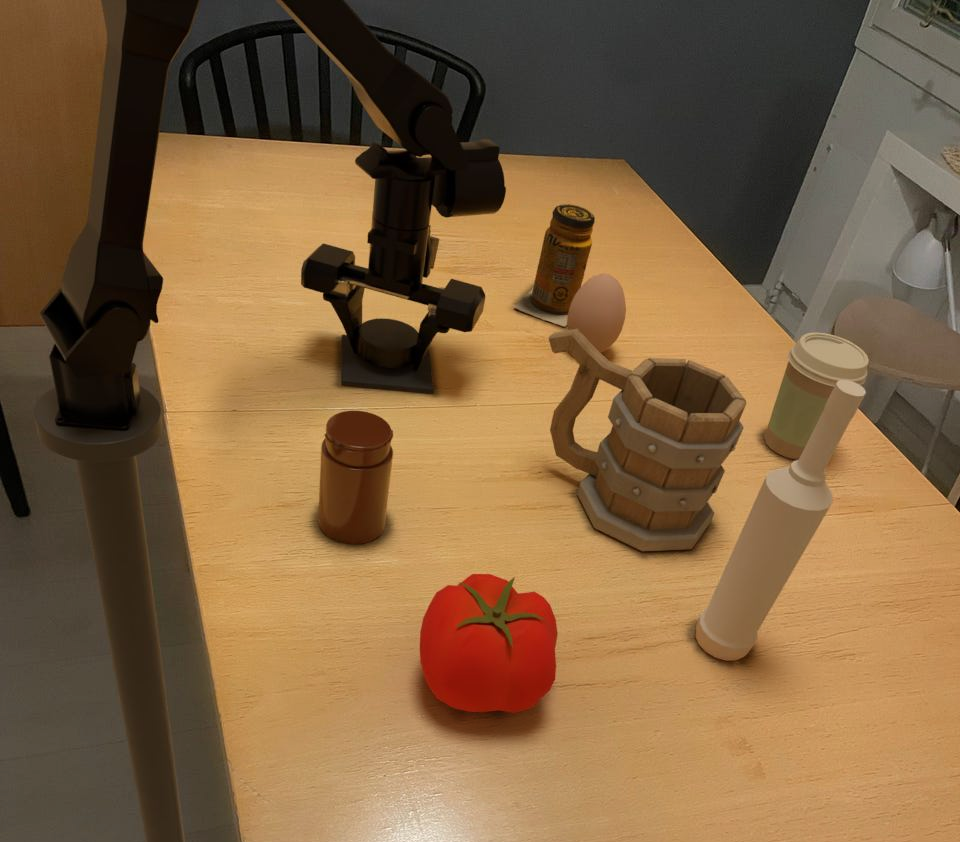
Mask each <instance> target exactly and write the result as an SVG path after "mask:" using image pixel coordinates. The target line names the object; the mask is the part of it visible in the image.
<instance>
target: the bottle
mask: <svg viewBox="0 0 960 842" xmlns="http://www.w3.org/2000/svg"><path fill="white" fill-rule="evenodd" d="M866 392H867V391H866V389H865V388H864V387H863V386H862V385H859V384H857V383H855V382H852V381H849V380H839V381H838V382H837V383H836V385H835V387H834V389H833V391H832V393H831V395H830V397H829V399H828V401H827V403H826V405H825V409H824V411H823V413H822V415H821V417H820V419H819V421H818V423H817V425H816V426H815V428H814V430H813V432H812V434H811V436H810V438H809V440H808V442H807V444H806V446H805V448H804V450H803V452H802V454H801V456H800V458H799V460H797V459H795V460H794V461H792V462H791V463H790V465H789V466H788V465H787V466H784V467H779V468H776V469H773V470H770V471H769V472H768V473H767V474H766V476H765V478H764V479H763V482H762V484H761V486H760V489H759V491H758V493H757V496H756V498H755V499H754V502H753V505H752V507H751V509H750V511H749V513H748V516H747V517H746V520H745V522H744V524H743V527H742V529H741V531H740V533H739V536H738V538H737V540H736V543H735V544H734V547H733V549H732V551H731V554H730V556H729V558H728V561H727V563H726V565H725V566H724V569H723V571H722V574H721V576H720V579H719V580H718V583H717V585H716V587H715V590H714V591H713V594H712V596H711V599H710V601H709V602H708V606H707V607H706V608H705V609H704V610H703V611H702V612H701V614H700V615H699V617H698V620H697V622H696V625H695V639H696V641H697V644H698V646H699V647H700V648H701V649H702V650H703V651H704V652H705V653H707V654H708V655H709V656H712V657H714V658H715V659H719V660H722V661H728V662H729V661H737V660H740V659H742V658H744V657H746V656H747V655H748V654H749V652H750V651H751V649H752V648H753V647H754V646H755V644H756V642H757V640H758V632H759V630H760V629H761V627H762V625H763V623H764V622H765V620H766V619H767V617H768V615H769V613H770V611H771V610H772V608H773V606H774V604H775V603H776V601H777V599H778V597H779V596H780V593H781V592H782V591H783V589H784V587H785V586H786V583H787V582H788V580H789V578H790V577H791V576H792V573H793V571H794V570H795V568H796V567H797V565H798V563H799V561H800V560H801V558H802V556H803V554H804V553H805V551H806V550H807V547H808V546H809V544H810V543H811V540H812V539H813V537H814V535H816V533H817V530H818V529H819V527H820V525H821V524H822V522H823V520H824V518H825V516H826V515H827V513H828V511H829V510H830V509H831V506H832V504H833V503H834V497H833V496H834V495H833V492H832V491H831V489H830V487H829V485H828V483H827V481H826V479H827V473H826V469H827V467H828V465H829V463H830V461H831V459H832V457H833V456H834V453H835V451H836V449H837V448H838V445H839V443H840V442H841V440H842V438H843V436H844V435H845V434H844V433H845V432H846V430H847V428H848V426H849V424H850V423H851V421H852V419H853V418H854V416H855V415H856V412H857V411H858V409H859V408H860V405H861V403H862V402H863V399H864V398H865V396H866V394H867V393H866Z"/></svg>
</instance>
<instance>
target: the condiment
mask: <svg viewBox="0 0 960 842" xmlns="http://www.w3.org/2000/svg"><path fill="white" fill-rule="evenodd" d="M595 218H596V217H595V215H594V214H593V213H592V212H591V211H590V210H589V209H587V208H585V207H582V206H579V205H576V204H575V205H574V204H572V203H571V204H568V203H567V204H565V203H563V204H560V205H556V206H555V208H554V209H553V210H552V217H551V219H550V222H549V227H547V228H546V229H545V232H544V236H543V241H542V246H541V251H540V256H539V260H538V263H537V269H536V273H535V278H534V282H533V285H532V288H531V289H530V290H529V291H528V292H527V293H526V294H525V295H524V296H522V298H521V299H520V300H518V302H517V303H515V304H514V305H513V306H512V308H514V309H517V310H519V311H520V312H523V313H525V314H528V315H531V316H532V317H535V318H538V319H541V320H542V321H547V322H550V323H553V324H555V325H558V326H561V327H564V328H566V326H567V317H568V312H569V309H570V305H571V302H572V300H573V298H574V296H575V294H576V293H577V291H578V290H579V289H580V287H581V286H582V285H583V281H584V278H585V272H586V269H587V264H588V260H589V256H590V253H591V249H592V246H593V239H592V237H591V236H592V234H593V232H594V230H593V229H594V224H595V223H596V222H595V221H596V219H595Z"/></svg>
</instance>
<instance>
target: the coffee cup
mask: <svg viewBox="0 0 960 842" xmlns="http://www.w3.org/2000/svg"><path fill="white" fill-rule="evenodd" d="M787 359H788V361H787V364H786V368H785V370H784V373H783V377H782V380H781V383H780V386H779V388H778V389H779V390H778V393H777V396H776V398H775V401H774V405H773V408H772V412H771V415H770V418H769V421H768V424H767V427H766V431H765V434H764V443H765V445H767V446H768V448H769V449H771V450H772V451H773V452H774V453H776V454H777V455H779V456H782V457H785V458H788V459H791V460H799V458H800V456H801V454H802V452H803V450H804V448H805V446H806V444H807V442H808V440H809V438H810V436H811V434H812V432H813V430H814V428H815V426H816V425H817V423H818V421H819V419H820V417H821V415H822V413H823V411H824V409H825V405H826V403H827V401H828V399H829V397H830V395H831V393H832V391H833V389H834V387H835V385H836V383H837V382H838V381H839V380H849V381H852V382H855V383H857V384H859V385H860V386H862V385H863V384H865V382H866V379H867V376H868V365H869V357H868V355H867V353H866V352H865V351H864V350H863V349H862V348H861V347H859V346H858V345H856V344H855V343H853V342H852V341H850V340H848V339H845V338H843V337H841V336H838V335H834V334H830V333H825V332H808V333H805V334H803V335H802V336H801V337H800V338H799V339H798V340H797V341H796V342H795V343H794V344H793V345H792V346H791V348H790V349H789V351H788V352H787Z"/></svg>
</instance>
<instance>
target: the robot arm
mask: <svg viewBox="0 0 960 842" xmlns="http://www.w3.org/2000/svg"><path fill="white" fill-rule="evenodd" d="M100 2H101V7H102V13H103V19H104V24H105V29H106V30H105V31H106V50H105V57H104V67H103V77H102V85H101V93H100V104H99V112H98V120H97V121H98V122H97V129H96V139H95V148H94V156H93V166H92V174H91V183H90V193H89V194H90V195H89V200H88V201H89V203H88V211H87V218H86V222H85V225H84V227H83V229H82V231H81V232H80V234H78V236H77V238H76V239H75V241H74V242H73V244H72V245H71V248H70V251H69V253H68V258H67V261H66V265H65V268H64V271H63V274H62V278H61V285H60V286H61V287H60V288H59V289H58V291H57V292H56V293H55V294H54V295H53V296H52V297H51V299H50V300H49V301H48V302H47V303H46V305H44V307H43V308H42V309H41V310H40V312H39V313H38V315H39V318H40V320H41V321H42V323H43V324H44V327H45V328H46V330H47V332H48V334H49V335H50V337H51V339H52V340H53V342H54V344H53V347H52V349H51V351H50V354H49V356H48V358H49V363H50V369H51V374H52V378H53V385H54V387H55V390H56V395H57V400H58V405H59V410H58V413H57V415H56V418H55V423H56V425H58V426H65V427H78V428H91V429H103V430H116V431H127V430H129V428H130V425H131V421H132V418H133V416H135V415H136V414H137V411H138V408H139V404H140V391H139V386H140V383H139V375H138V366H137V364H136V363H135V362H133V361H134V357H135V353H136V349H137V347H138V343H139V342H143V341H144V340H145V338H146V337H147V335H149V331H150V327H151V322H153V323H154V324H158V323H159V317H158V313H157V312H158V310H157V309H158V302H159V298H160V296H161V294H162V290H163V283H164V277H163V276H162V274H161V273H160V272H159V270H158V269H157V268H156V266H155V265H154V264H153V263H152V261H151V260H150V258H149V257H148V256H147V255H146V253H145V252H144V239H145V232H146V226H147V218H148V213H149V212H148V211H149V205H150V199H151V192H152V185H153V177H154V171H155V165H156V158H157V151H158V145H159V138H160V131H161V125H162V117H163V111H164V104H165V96H166V90H167V84H168V77H169V71H170V67H171V65H172V62H173V59H174V58H175V57H176V55H177V53H178V52H179V50H180V48H181V47H182V45H183V43H185V40H186V39H187V38H188V36H189V35H190V33H191V30H192V27H193V24H194V21H195V18H196V15H197V13H198V10H199V6H200V3H201V0H100ZM275 2H276V3H277V4H278V5H279V6H280V7H281V8H282V9H283V10H284V11H285V12H286V13H287V14H288V15H289V17H290V18H292V19H293V20H294V21H295V23H297V25H298V26H299V27H300V28H301V29H302V30H303V31H304V32H305V34H307V35H308V36H309V37H310V38H311V39H312V40H313V41H314V42H315V44H316V45H317V46H318V47H319V48H320V49H321V50H322V51H323V53H325V54H326V56H328V57H329V58H330V59H331V60H332V62H334V64H336V66H337V68H339V69H340V70H341V71H342V72H343V73H344V74H345V76H346V77H347V79H348V80H349V83H351V85H352V87H353V90H354V92H355V94H356V96H357V98H358V100H359V102H360V103H361V105H362V106H363V108H364V109H365V111H366V112H367V114H368V115H369V117H370V119H371V120H372V121H373V123H374V125H375V126H376V127H377V128H378V130H379V129H380V131H382V132H383V133H384V134H386V135H387V136H388V137H389V138H391V139H392V140H393V141H394V142H396V144H398V145H399V146H401V147H402V148H403V149H398V150H387V148H385V147H383V146H382V144H380V143H378V142H377V141H373V142H372V143H371V145H370V146H369V147H368V148H367V149H365V150H364V151H363V152H361V153H360V154H359V155H358V156H356V157H355V159H354V163H355V165H356V166H357V167H358V168H359V169H361V170H362V171H363V172H364V173H365V174H366V175H368V176H369V177H370V178H371V179H373V180H374V191H373V201H372V202H373V205H372V214H371V227H370V230H369V231H368V232H367V240H366V241H367V242H366V243H367V244H369V251H368V252H369V253H368V254H369V255H368V266H367V267H365V266H360V265H357V264H356V254H355V253H354V251H352V250H349V249H345V248H342V247H338V246H335V245H331V244H327V243H321V244H320V245H319V246H317V248H316V249H314V251H312V252H311V253H310V255H308V256H307V257H306V259H304V260H303V262H302V265H301V269H300V271H301V272H300V285H301V286H302V287H303V288H304V289H308V290H310V291H314V292H319V293H322V299H323V300H324V301H325V302H328V303H330V304H331V306H332V308H333V310H334V312H335V314H336V316H337V318H338V320H339V321H340V323H341V325H342V328H343V329H344V332H345V335H347V337H348V339H349V342H350V344H351V347H352V349H353V352H354V353H355V354H358V352H357V348H356V345H357V334H358V329H359V327H360V325H361V324H362V323H363V298H364V293H365V289H368V290H370V291H374V292H378V293H380V294H381V293H382V294H385V295H389V296H392V297H396V298H400V299H403V300H405V301H406V300H407V301H411V302H414V303H417V304H421V305H425V306H427V313H426V314H425V316H424V317H423V319H422V320H421V322H419V323H420V324H419V329H418V339H417V344H416V349H415V354H414V359H413V370H415V371H417V369H418V368H419V366H420V364H421V362H422V360H423V358H424V356H425V354H426V352H427V350H428V348H429V349H430V346H431V344H432V343H433V340H434V338H435V337H436V336H437V334H438V333H440V334H448V333H449V331H450V330H455V331H458V332H462V333H471V332H472V331H473V330H474V328H475V326H476V325H477V323H478V321H479V319H480V317H481V316H482V314H483V312H484V309H485V303H486V293H485V291H484V289H483V287H482V286H480V285H476V284H473V283H468V282H466V281H462V280H458V279H454V278H450V279H449V281H448V283H447V284H446V285H445V287H437V286H433V285H429V284H426V283H423V281H424V278H425V279H427V278H428V277H429V276H430V275H431V270H432V269H433V270H434V268H435V262H436V260H437V259H436V258H437V254H438V249H439V243H440V238H439V237H436V236H432V235H431V231H432V230H431V228H432V227H431V226H432V225H431V224H430V222H431V215H432V207H434V208H435V209H436V211H437V213H438V214H439V215H440V216H441V217H443V218H459V217H470V216H484V215H493V214H496V213H498V212H499V211H500V209H501V208H502V206H503V205H504V202H505V198H506V194H507V193H506V192H507V186H505V184H506V183H505V182H506V181H505V173H504V169H503V166H502V164H501V162H500V160H499V156H500V150H501V148H500V146H499V145H498V144H496V143H495V142H493V141H492V140H491V139H489V138H488V139H487V138H486V139H477V140H475V141H470V142H469V141H465V142H464V141H463V142H461V141H460V139H459V137H458V135H457V132H456V130H455V128H454V126H453V115H454V114H455V110H454V109H455V108H454V107H453V103H452V101H451V100H450V98H449V96H448V95H447V94H446V93H445V92H443V90H441V89H440V88H439V87H437V86H436V85H435V84H433V83H432V82H431V81H429V80H428V79H427V78H426V77H424V76H423V75H421V74H420V73H419V72H418V71H417V70H415V69H414V68H412V67H411V66H409V65H408V64H407V63H405V62H404V61H403V60H402V59H401V58H399V57H398V56H396V55H395V54H394V53H392V51H390V50H388V48H386V46H385V45H384V44H383V43H382V41H381V40H380V39H379V38H378V37H377V36H376V35H375V34H374V32H373V31H372V30H371V29H370V27H368V26H367V24H366V23H365V22H364V21H363V20H362V19H361V18H360V16H359V15H358V14H357V13H356V12H355V10H354V9H353V8H352V7H351V6H350V5H349V4H348V3H347V2H346V0H275ZM429 155H430V156H429ZM424 156H427V157H424ZM428 156H429V157H428Z"/></svg>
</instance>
